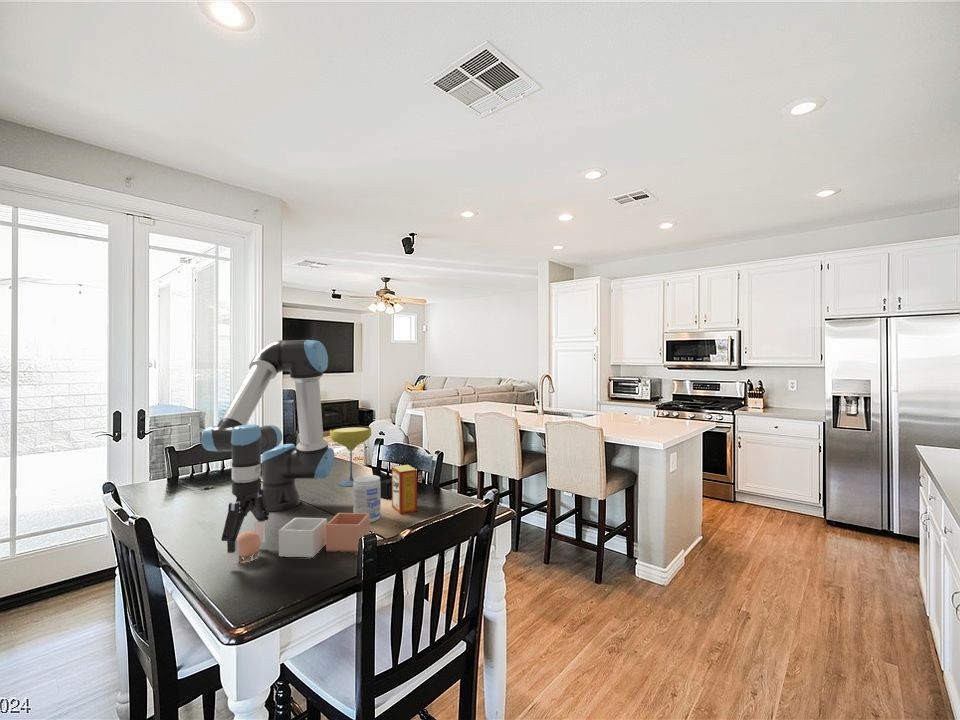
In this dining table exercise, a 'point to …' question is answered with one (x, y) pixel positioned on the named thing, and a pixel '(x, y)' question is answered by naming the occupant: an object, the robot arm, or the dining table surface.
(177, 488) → the dining table surface
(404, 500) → the baking soda box
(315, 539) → the white open box
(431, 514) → the dining table surface
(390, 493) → the digital camera
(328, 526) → the terracotta open box
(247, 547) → the ball
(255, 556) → the ball stand
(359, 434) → the cocktail glass
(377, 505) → the supplement tub
